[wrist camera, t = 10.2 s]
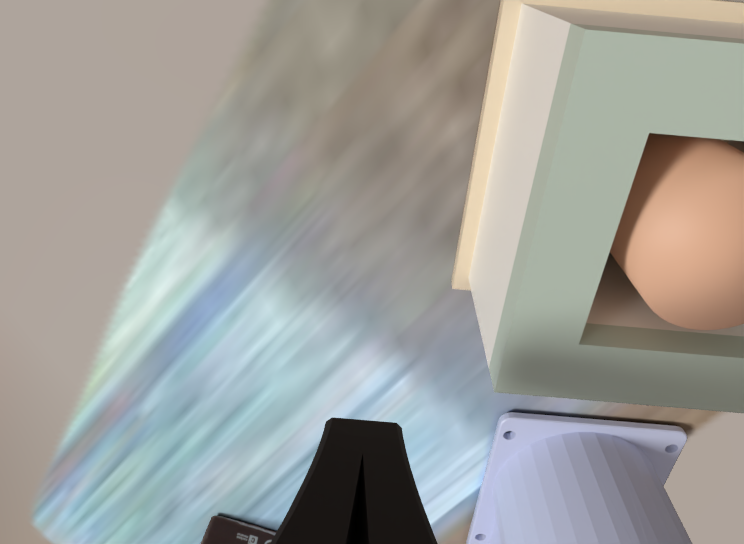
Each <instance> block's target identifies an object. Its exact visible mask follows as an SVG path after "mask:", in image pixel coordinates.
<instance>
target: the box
mask: <svg viewBox="0 0 744 544" xmlns="http://www.w3.org/2000/svg"><path fill="white" fill-rule="evenodd" d="M275 534H276V531H272V530H268V529H265V528H262V527H259V526H257V525H253V524H248V523H245V522H242V521H236V520H233V519H230V518H225V517H222V516H213V517H212V518H211V520H210V522H209V525H208V527H207V529H206V532H205V535H204V537H203V539H202V542H201V544H270V543H271V541H272V539H273V537H274V536H275Z"/></svg>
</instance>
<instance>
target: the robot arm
mask: <svg viewBox="0 0 744 544" xmlns="http://www.w3.org/2000/svg"><path fill="white" fill-rule="evenodd" d="M507 431H512V432H510V433H505V432H507ZM686 441H687V435H686V433H685V431H684V430H683V429H682V428H681V427H678V426H671V425H659V424H647V423H635V422H623V421H611V420H599V419H587V418H575V417H563V416H551V415H539V414H527V413H515V412H509V413H506V414H503V415H502V416H501V417H500V418H499V421H498V424H497V428H496V432H495V436H494V440H493V443H492V447H491V451H490V455H489V458H488V462H487V466H486V470H485V474H484V477H483V481H482V485H481V489H480V492H479V496H478V500H477V504H476V508H475V511H474V515H473V519H472V523H471V526H470V530H469V534H468V538H467V541H466V544H692V542H691V540H690V538H689V536H688V534H687V532H686V530H685V528H684V527H683V524H682V522H681V521H680V519H679V517H678V515H677V513H676V511H675V509H674V507H673V505H672V503H671V501H670V499H669V497H668V495H667V493H666V491H665V489H664V487H663V486H664V484H665V482H666V480H667V478H668V476H669V474H670V472H671V470H672V468H673V466H674V464H675V462H676V461H677V458H678V456H679V455H680V453H681V451H682V449H683V447H684V445H685V443H686ZM270 544H437V541H436V539H435V536H434V534H433V531H432V529H431V526H430V523H429V521H428V518H427V515H426V513H425V510H424V507H423V505H422V502H421V499H420V496H419V493H418V490H417V487H416V484H415V481H414V478H413V475H412V471H411V468H410V464H409V461H408V457H407V453H406V449H405V444H404V440H403V434H402V428H401V427H400V426H399V425H398V424H397V423H391V422H379V421H367V420H355V419H343V418H331V419H330V420H328V421H326V424H325V428H324V432H323V435H322V438H321V441H320V444H319V447H318V449H317V452H316V454H315V457H314V459H313V462H312V464H311V466H310V468H309V471H308V473H307V475H306V477H305V479H304V481H303V483H302V485H301V487H300V489H299V491H298V493H297V495H296V497H295V499H294V501H293V503H292V505H291V507H290V509H289V511H288V513H287V515H286V517H285V518H284V520H283V522H282V524H281V525H280V527H279V529H278V531H277V532H276V534H275V536H274V537H273V539H272V541H271V543H270Z"/></svg>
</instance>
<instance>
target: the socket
mask: <svg viewBox="0 0 744 544" xmlns="http://www.w3.org/2000/svg"><path fill="white" fill-rule="evenodd" d="M649 133H655V134H667V135H678V136H689V137H701V138H712V139H721V140H723V141H724V142H726V143H728V144H729V145H731V146H733V147H735V148H736V149H738V150H740V151H742V152H743V153H744V3H743V2H732V1H721V0H501V3H500V9H499V14H498V20H497V26H496V31H495V37H494V43H493V48H492V54H491V60H490V65H489V71H488V77H487V82H486V88H485V94H484V99H483V105H482V111H481V116H480V122H479V128H478V133H477V139H476V145H475V150H474V156H473V162H472V168H471V173H470V179H469V185H468V190H467V196H466V202H465V207H464V213H463V219H462V224H461V230H460V236H459V241H458V247H457V253H456V258H455V264H454V270H453V275H452V281H451V282H452V288H453V289H461V290H471V292H472V296H473V300H474V305H475V309H476V314H477V318H478V322H479V327H480V331H481V336H482V340H483V345H484V349H485V353H486V358H487V362H488V367H489V371H490V375H491V380H492V384H493V389H494V392H497V393H509V394H521V395H533V396H545V397H557V398H569V399H580V400H592V401H604V402H616V403H628V404H640V405H652V406H664V407H676V408H688V409H700V410H712V411H724V412H735V413H744V324H741V325H737V326H734V327H730V328H724V329H717V330H695V329H687V328H684V327H680V326H677V325H674V324H672V323H669V322H667V321H666V320H664V319H662V318H661V317H659V316H658V315H657V314H656V313H654V312H653V311H652V309H651V308H650V307H649V306H648V305H647V303H646V302H645V301H644V299H643V298H642V296H641V295H640V294H639V292H638V291H637V289H636V288H635V287H634V285H633V284H632V282H631V281H630V280H629V278H628V277H627V275H626V274H625V273H624V271H623V270H622V268H621V267H620V266H619V264H618V263H617V261H616V260H615V259H614V257H613V256H612V254H611V253H610V249H611V246H612V243H613V240H614V237H615V234H616V231H617V228H618V225H619V222H620V219H621V216H622V213H623V210H624V207H625V204H626V201H627V198H628V195H629V192H630V189H631V186H632V183H633V180H634V177H635V174H636V171H637V168H638V165H639V162H640V159H641V156H642V153H643V150H644V147H645V144H646V141H647V138H648V135H649Z"/></svg>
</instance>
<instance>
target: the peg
mask: <svg viewBox="0 0 744 544" xmlns="http://www.w3.org/2000/svg"><path fill="white" fill-rule="evenodd" d="M610 253H611V254H612V256H613V257H614V259H615V260H616V261H617V263H618V264H619V266H620V267H621V268H622V270H623V271H624V273H625V274H626V275H627V277H628V278H629V280H630V281H631V282H632V284H633V285H634V287H635V288H636V289H637V291H638V292H639V294H640V295H641V296H642V298H643V299H644V301H645V302H646V303H647V305H648V306H649V307H650V308H651V309H652V311H653V312H654V313H656V314H657V315H658V316H659V317H661V318H662V319H664V320H666V321H667V322H669V323H672V324H674V325H677V326H680V327H684V328H687V329H695V330H717V329H724V328H730V327H734V326H737V325H741V324H744V153H743V152H742V151H740V150H738V149H736V148H735V147H733V146H731V145H729V144H728V143H726V142H724V141H723V140H721V139H712V138H701V137H689V136H678V135H667V134H655V133H649V135H648V138H647V141H646V144H645V147H644V150H643V153H642V156H641V159H640V162H639V165H638V168H637V171H636V174H635V177H634V180H633V183H632V186H631V189H630V192H629V195H628V198H627V201H626V204H625V207H624V210H623V213H622V216H621V219H620V222H619V225H618V228H617V231H616V234H615V237H614V240H613V243H612V246H611V249H610Z"/></svg>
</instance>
